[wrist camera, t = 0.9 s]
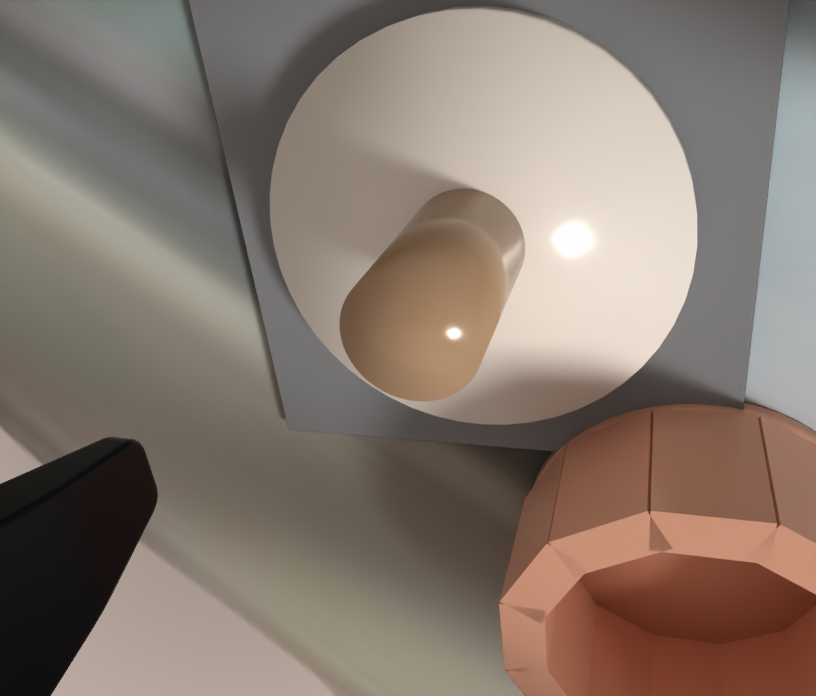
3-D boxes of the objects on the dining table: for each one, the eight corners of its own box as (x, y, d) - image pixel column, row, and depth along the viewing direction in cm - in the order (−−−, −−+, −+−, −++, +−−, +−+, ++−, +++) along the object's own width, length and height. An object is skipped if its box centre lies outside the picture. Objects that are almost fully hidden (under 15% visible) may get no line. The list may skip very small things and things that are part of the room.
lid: (683, 418, 21) (687, 577, 16) (322, 394, 24) (231, 519, 19) (712, -21, 15) (732, 8, 11) (247, 29, 19) (97, 69, 14)
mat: (736, 457, 21) (737, 466, 21) (293, 423, 26) (288, 429, 25) (800, -116, 15) (802, -116, 14) (190, -31, 19) (181, -30, 19)
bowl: (849, 670, 24) (888, 829, 20) (535, 622, 27) (511, 751, 23) (912, 407, 19) (980, 543, 15) (523, 386, 22) (489, 494, 18)
